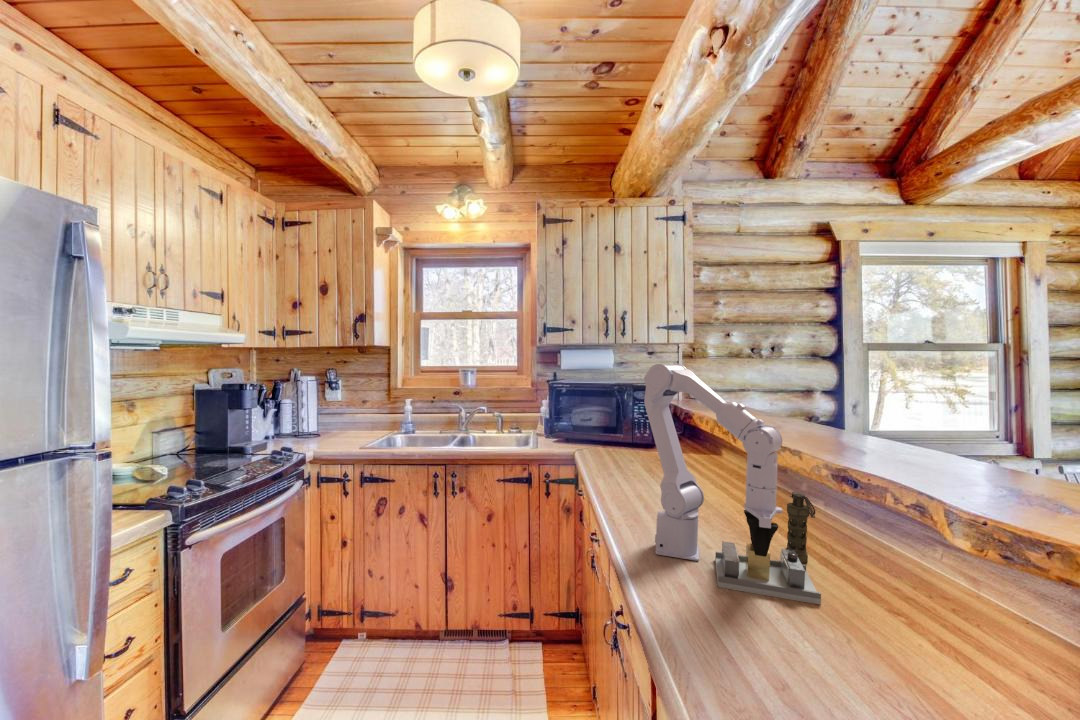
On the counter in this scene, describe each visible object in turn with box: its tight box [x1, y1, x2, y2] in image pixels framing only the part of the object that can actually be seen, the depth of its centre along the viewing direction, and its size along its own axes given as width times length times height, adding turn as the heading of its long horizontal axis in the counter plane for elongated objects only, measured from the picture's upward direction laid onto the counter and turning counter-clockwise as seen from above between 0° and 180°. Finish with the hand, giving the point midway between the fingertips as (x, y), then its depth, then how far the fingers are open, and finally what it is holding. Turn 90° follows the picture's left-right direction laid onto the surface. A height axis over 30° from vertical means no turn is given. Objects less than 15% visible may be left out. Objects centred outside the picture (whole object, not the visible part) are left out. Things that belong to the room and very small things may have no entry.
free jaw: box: [779, 548, 805, 590], centre depth 95 cm, size 3×10×5 cm, turn 162°
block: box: [745, 542, 771, 581], centre depth 97 cm, size 4×4×6 cm
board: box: [714, 551, 822, 606], centre depth 97 cm, size 18×13×2 cm
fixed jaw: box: [721, 541, 739, 579], centre depth 99 cm, size 3×10×4 cm, turn 162°
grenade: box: [784, 491, 816, 564], centre depth 108 cm, size 9×6×15 cm, turn 154°
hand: (759, 550), depth 97 cm, fingers open, 4 cm apart
